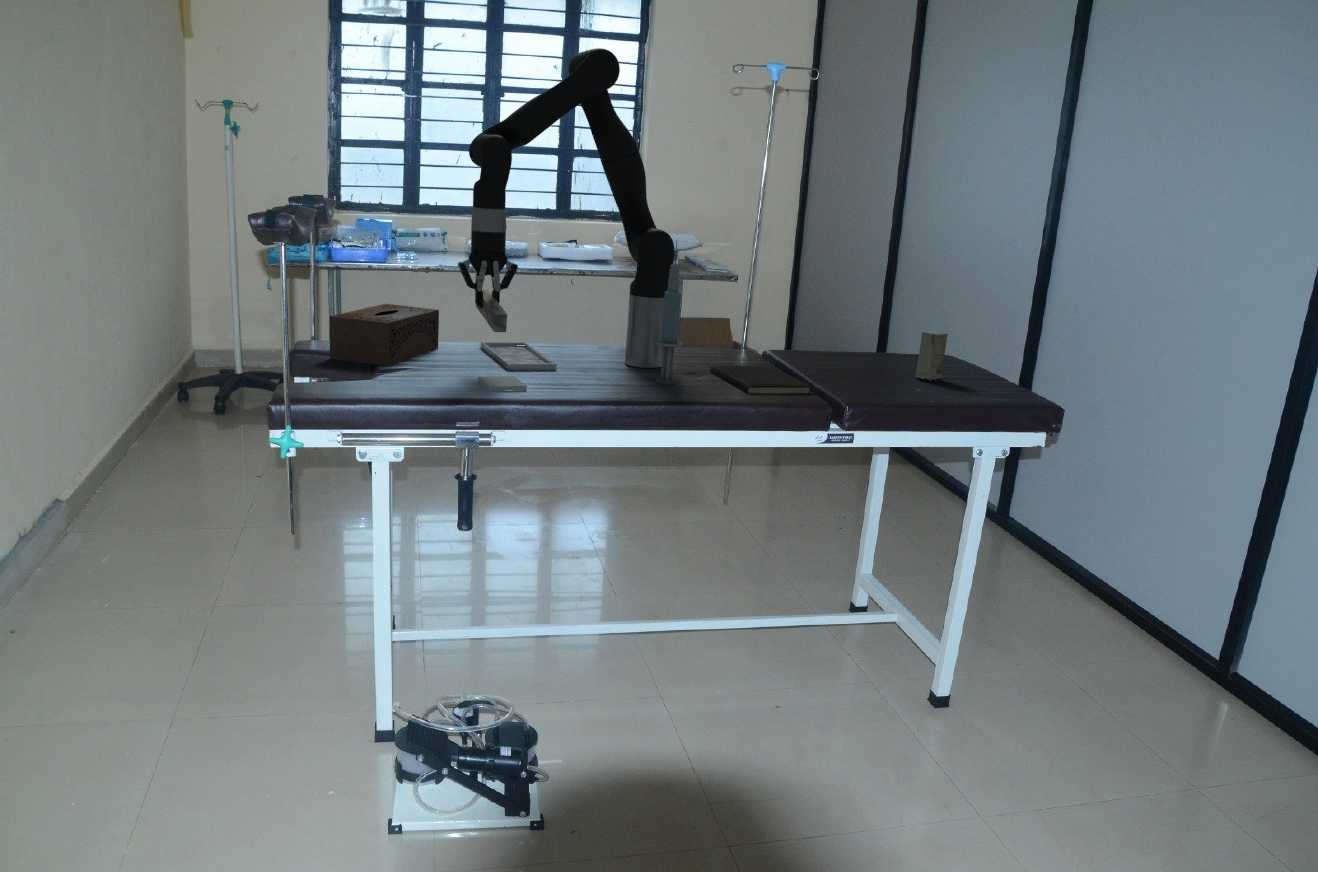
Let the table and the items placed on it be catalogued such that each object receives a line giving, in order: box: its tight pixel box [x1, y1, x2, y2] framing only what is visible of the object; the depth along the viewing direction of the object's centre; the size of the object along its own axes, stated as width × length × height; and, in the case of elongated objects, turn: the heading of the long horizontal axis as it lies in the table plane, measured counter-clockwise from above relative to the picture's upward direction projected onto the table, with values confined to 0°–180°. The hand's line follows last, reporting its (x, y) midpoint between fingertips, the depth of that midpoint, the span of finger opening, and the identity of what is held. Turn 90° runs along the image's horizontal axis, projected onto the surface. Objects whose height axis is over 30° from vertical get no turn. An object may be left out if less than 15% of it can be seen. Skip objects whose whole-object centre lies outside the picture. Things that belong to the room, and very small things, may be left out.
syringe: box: [655, 230, 684, 385], centre depth 230 cm, size 5×6×35 cm
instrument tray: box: [480, 341, 558, 372], centre depth 248 cm, size 12×28×2 cm, turn 22°
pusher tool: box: [475, 289, 508, 333], centre depth 226 cm, size 3×18×4 cm, turn 22°
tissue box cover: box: [329, 303, 440, 367], centre depth 242 cm, size 26×14×10 cm, turn 166°
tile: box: [477, 375, 528, 392], centre depth 218 cm, size 8×2×10 cm
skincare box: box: [915, 330, 949, 379], centre depth 261 cm, size 6×4×12 cm
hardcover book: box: [709, 364, 812, 395], centre depth 242 cm, size 16×23×2 cm
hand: (487, 307), depth 229 cm, fingers closed on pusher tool, 2 cm apart
